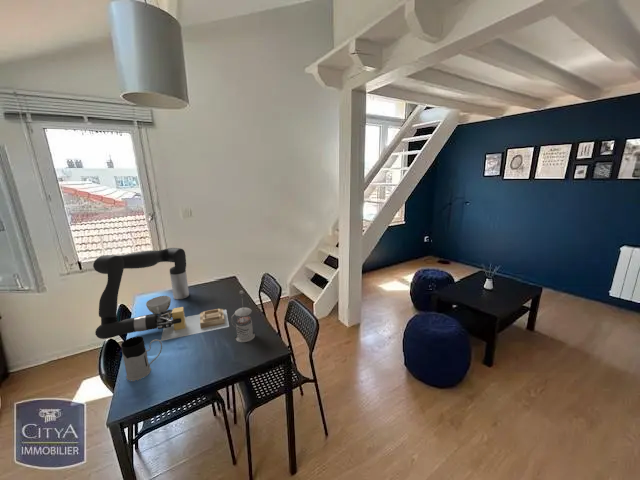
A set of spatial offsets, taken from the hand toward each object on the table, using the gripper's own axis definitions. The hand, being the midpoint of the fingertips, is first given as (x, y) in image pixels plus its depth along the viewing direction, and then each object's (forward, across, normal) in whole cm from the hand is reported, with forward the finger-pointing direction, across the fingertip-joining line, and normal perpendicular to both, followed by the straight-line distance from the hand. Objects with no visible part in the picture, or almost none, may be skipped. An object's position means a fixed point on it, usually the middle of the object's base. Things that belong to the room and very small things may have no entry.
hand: (181, 316), depth 145 cm
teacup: (-14, +22, +7) cm, 27 cm away
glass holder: (-12, -30, +7) cm, 33 cm away
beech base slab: (+14, 0, +6) cm, 16 cm away
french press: (+29, -20, +7) cm, 36 cm away
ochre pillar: (-2, 0, +6) cm, 6 cm away
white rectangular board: (+6, 0, +7) cm, 10 cm away
